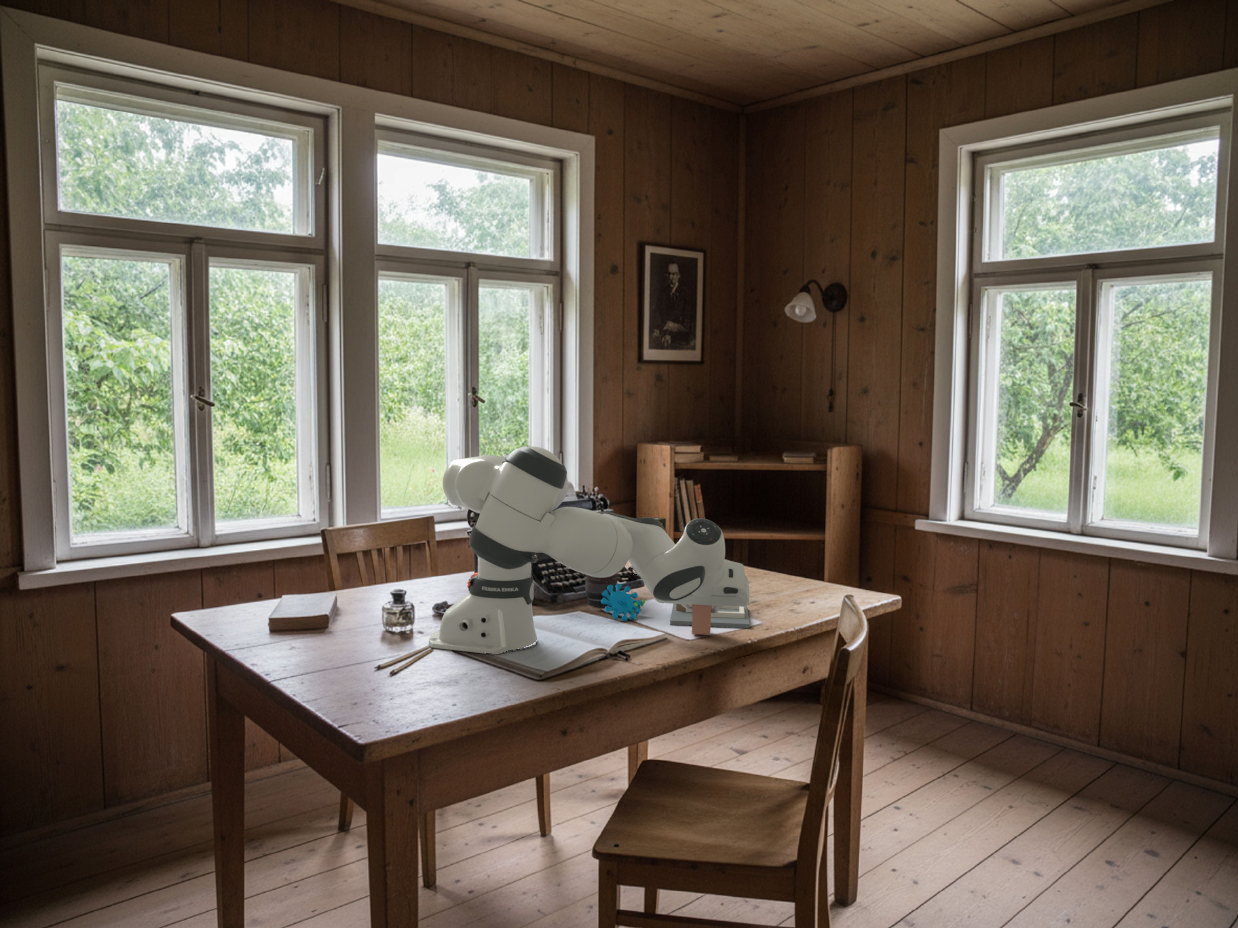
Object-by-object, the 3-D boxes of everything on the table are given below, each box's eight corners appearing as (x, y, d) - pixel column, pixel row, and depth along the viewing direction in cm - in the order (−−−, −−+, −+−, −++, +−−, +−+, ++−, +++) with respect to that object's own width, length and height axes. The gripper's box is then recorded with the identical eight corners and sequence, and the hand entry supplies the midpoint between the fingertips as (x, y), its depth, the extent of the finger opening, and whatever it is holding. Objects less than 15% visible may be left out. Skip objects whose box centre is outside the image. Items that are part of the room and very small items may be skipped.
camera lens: (621, 606, 231) (623, 546, 229) (590, 608, 228) (591, 547, 227) (611, 598, 238) (612, 540, 237) (581, 600, 236) (582, 541, 234)
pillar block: (691, 633, 204) (692, 597, 203) (692, 629, 208) (693, 593, 207) (710, 634, 204) (711, 598, 203) (710, 629, 208) (711, 594, 207)
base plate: (670, 624, 214) (670, 594, 213) (673, 606, 231) (674, 578, 231) (749, 628, 212) (750, 598, 211) (746, 609, 230) (747, 581, 229)
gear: (606, 616, 213) (600, 580, 219) (597, 630, 217) (591, 593, 223) (650, 620, 217) (643, 584, 223) (640, 633, 221) (634, 597, 227)
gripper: (652, 585, 194) (653, 620, 205) (751, 589, 192) (747, 624, 203) (653, 560, 198) (655, 595, 209) (751, 564, 196) (747, 599, 207)
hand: (701, 609), depth 206 cm, fingers closed on pillar block, 4 cm apart
